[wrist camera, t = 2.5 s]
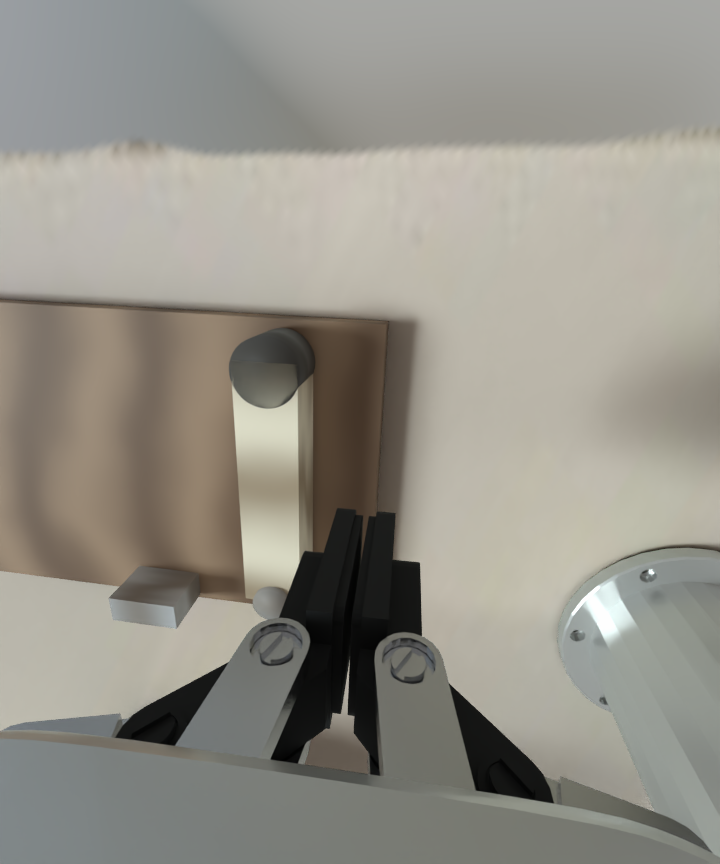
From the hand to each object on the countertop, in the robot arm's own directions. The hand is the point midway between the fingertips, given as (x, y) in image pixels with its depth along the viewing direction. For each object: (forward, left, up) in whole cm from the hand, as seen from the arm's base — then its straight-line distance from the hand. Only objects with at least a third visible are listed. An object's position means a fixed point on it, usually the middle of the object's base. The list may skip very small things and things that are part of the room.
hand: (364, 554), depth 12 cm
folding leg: (+6, +3, -11) cm, 12 cm away
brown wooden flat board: (+14, +4, -13) cm, 19 cm away
